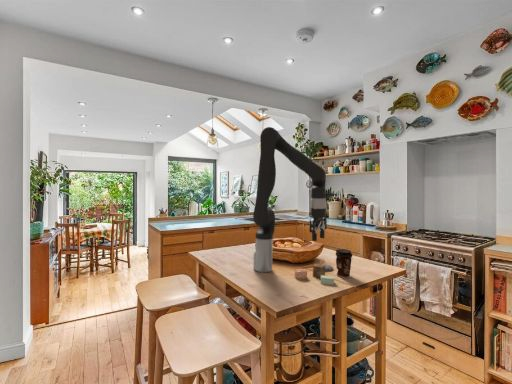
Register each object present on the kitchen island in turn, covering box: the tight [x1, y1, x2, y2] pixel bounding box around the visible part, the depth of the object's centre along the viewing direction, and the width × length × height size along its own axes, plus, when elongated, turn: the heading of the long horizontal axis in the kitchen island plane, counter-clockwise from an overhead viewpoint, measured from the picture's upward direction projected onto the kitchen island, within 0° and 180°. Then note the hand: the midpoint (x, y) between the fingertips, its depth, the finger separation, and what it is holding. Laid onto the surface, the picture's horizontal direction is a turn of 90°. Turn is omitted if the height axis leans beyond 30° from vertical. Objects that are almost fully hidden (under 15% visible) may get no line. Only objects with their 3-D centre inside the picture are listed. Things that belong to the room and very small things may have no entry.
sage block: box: [320, 275, 335, 286], centre depth 128 cm, size 6×4×3 cm, turn 77°
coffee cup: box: [335, 248, 353, 279], centre depth 138 cm, size 9×8×13 cm
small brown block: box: [294, 268, 308, 281], centre depth 134 cm, size 6×6×4 cm
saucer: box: [321, 264, 333, 272], centre depth 149 cm, size 9×9×1 cm
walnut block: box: [312, 263, 326, 279], centre depth 137 cm, size 4×4×6 cm
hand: (318, 239), depth 136 cm, fingers open, 8 cm apart
